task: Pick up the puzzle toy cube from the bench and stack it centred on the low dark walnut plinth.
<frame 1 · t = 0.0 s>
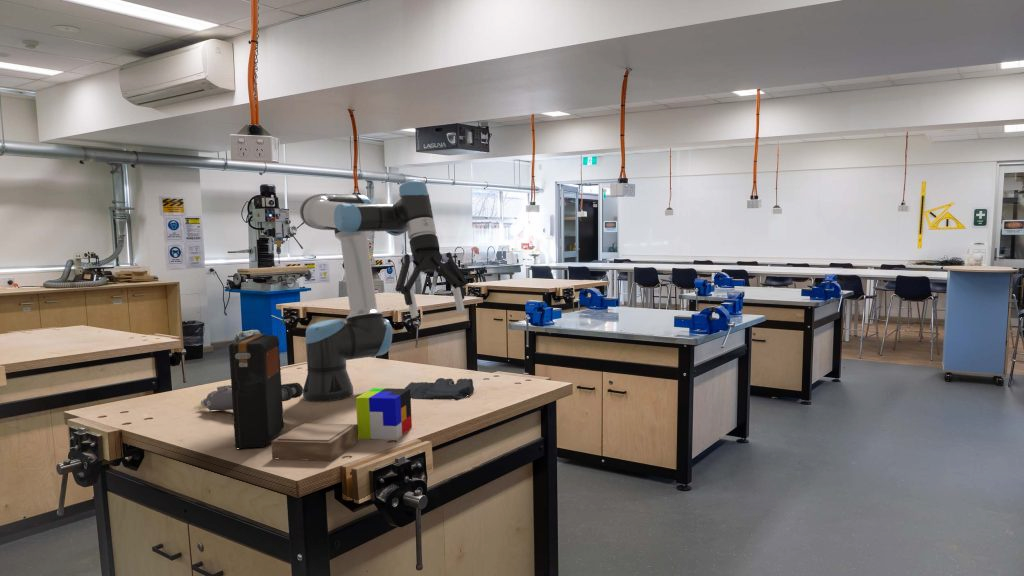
hand: (438, 314, 164), 28 cm above the table, tool tilted 20°, fingers open, 13 cm apart
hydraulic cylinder: (249, 415, 179), on the table
plinth: (317, 449, 145), on the table
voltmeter: (260, 440, 154), on the table
puzzle toy: (385, 433, 157), on the table
stone block: (255, 389, 211), on the table
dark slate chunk: (437, 395, 197), on the table
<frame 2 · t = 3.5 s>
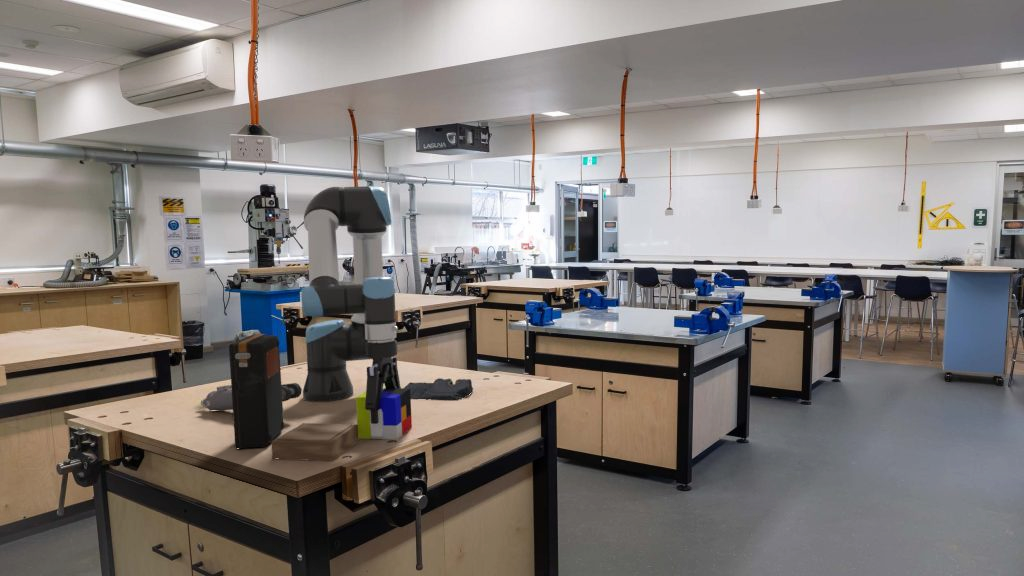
hand: (385, 429, 157), 1 cm above the table, tool pointing down, fingers closed on puzzle toy, 10 cm apart
puzzle toy: (385, 433, 157), on the table, touching gripper
everything else where it was.
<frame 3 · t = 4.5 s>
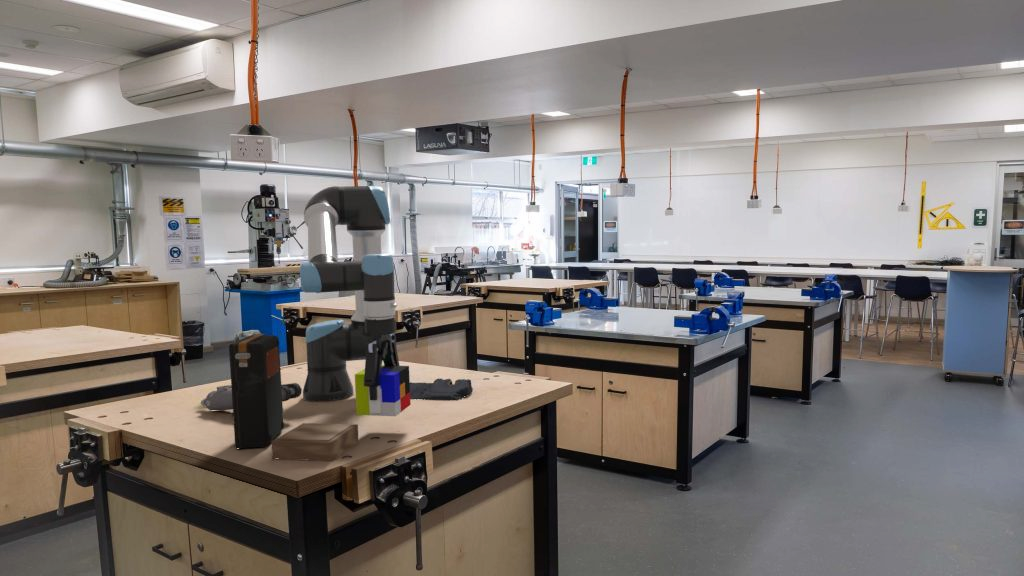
hand: (384, 406, 157), 6 cm above the table, tool pointing down, fingers closed on puzzle toy, 10 cm apart
puzzle toy: (384, 410, 157), point 5 cm above the table, touching gripper
everything else where it was.
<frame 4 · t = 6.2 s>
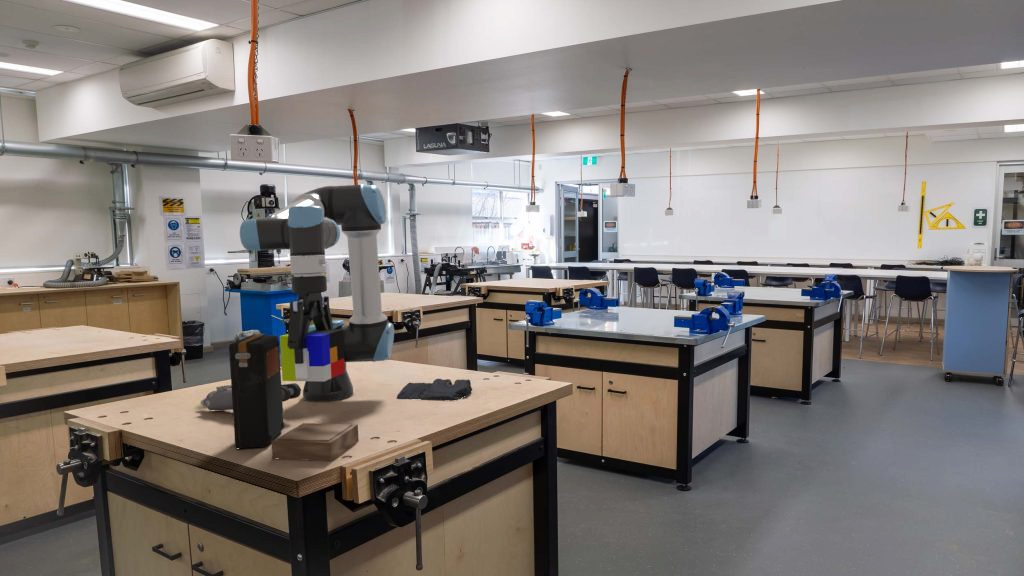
hand: (314, 372, 144), 18 cm above the table, tool pointing down, fingers closed on puzzle toy, 10 cm apart
puzzle toy: (314, 377, 144), point 17 cm above the table, touching gripper
everything else where it was.
when the fingers open (6 cm above the table, at t = 9.3 s): puzzle toy drops 1 cm, resting on plinth.
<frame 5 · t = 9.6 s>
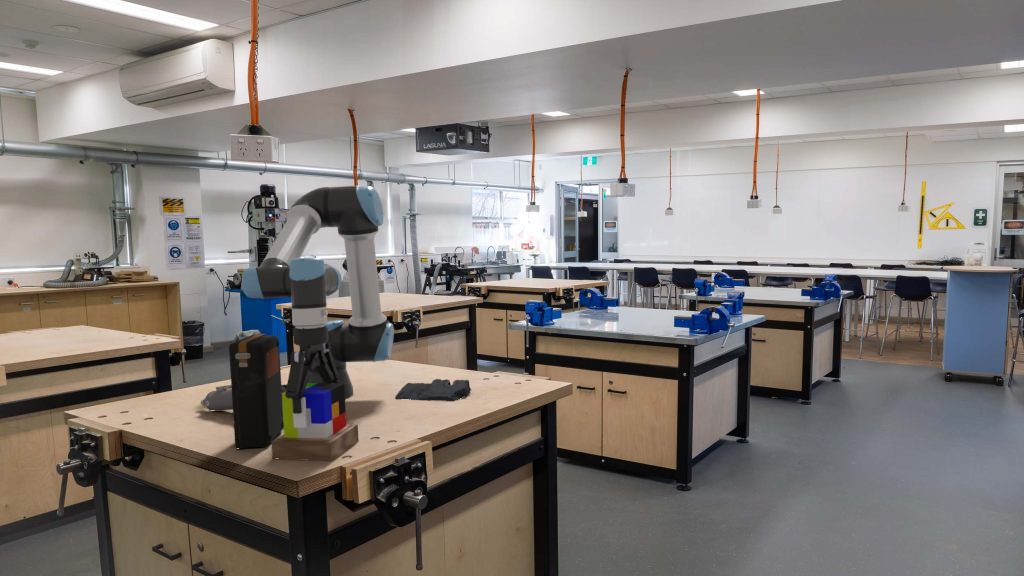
hand: (315, 418, 145), 7 cm above the table, tool pointing down, fingers open, 13 cm apart
puzzle toy: (316, 432, 145), point 4 cm above the table, touching plinth
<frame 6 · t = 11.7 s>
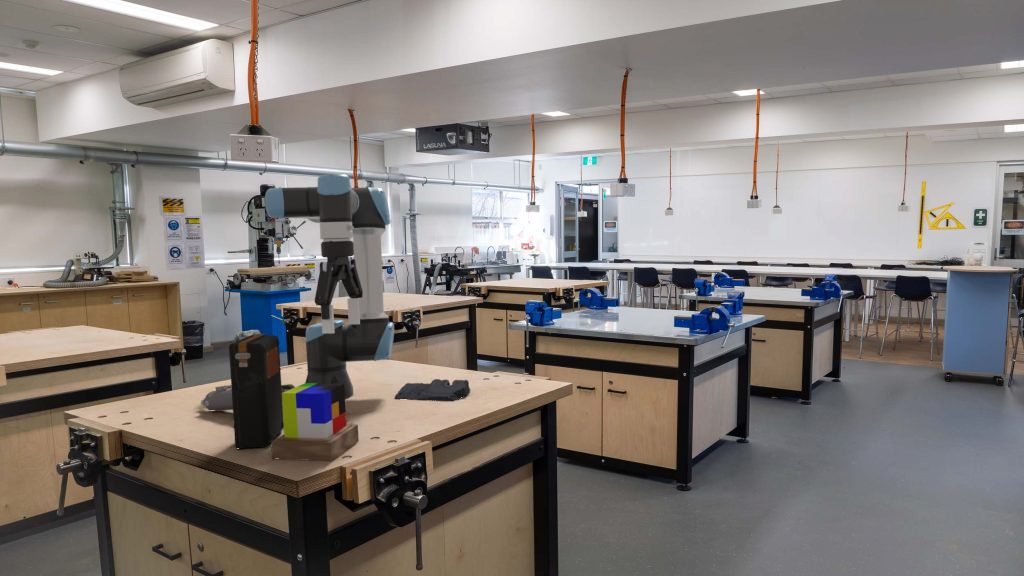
hand: (342, 328, 153), 26 cm above the table, tool pointing down, fingers open, 13 cm apart
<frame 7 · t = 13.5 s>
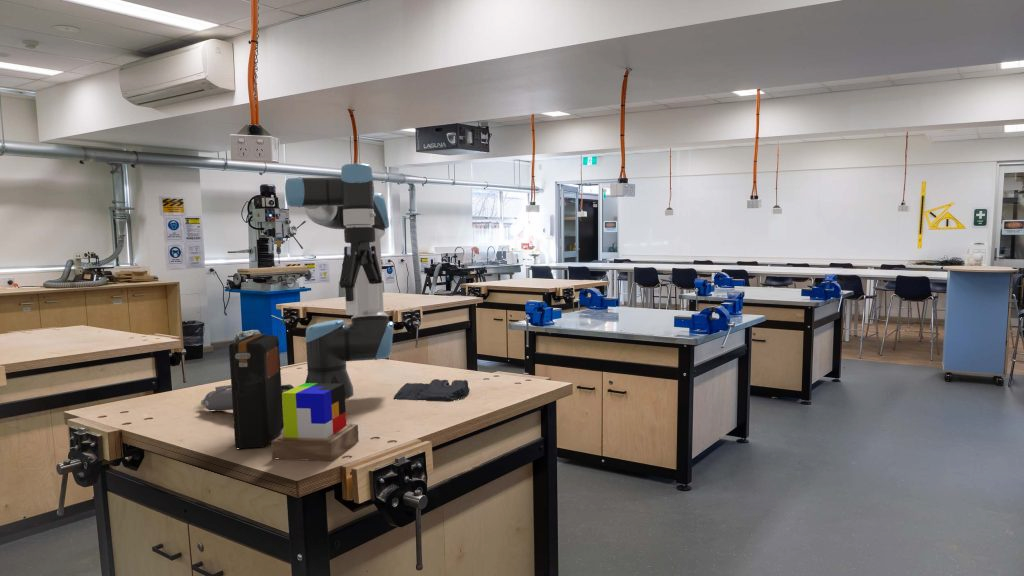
hand: (363, 311, 160), 30 cm above the table, tool pointing down, fingers open, 13 cm apart
at the end: puzzle toy 0.0 cm from the plinth (horizontally); puzzle toy point 4.0 cm above the table; puzzle toy touching plinth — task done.
